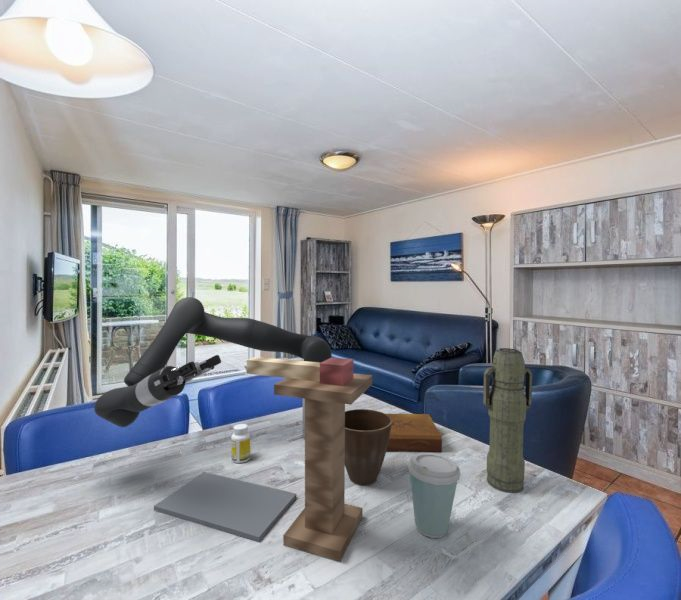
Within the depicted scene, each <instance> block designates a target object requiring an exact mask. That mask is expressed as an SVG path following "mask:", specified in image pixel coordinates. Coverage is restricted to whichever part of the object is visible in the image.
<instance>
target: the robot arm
mask: <svg viewBox="0 0 681 600" xmlns="http://www.w3.org/2000/svg"><path fill="white" fill-rule="evenodd" d="M186 334H190V335H197V336H202V337H203V336H204V337H209V338H214V339H218V340H221V341H223V342H227V343H231V344H234V345H239V346H242V347H245V348H247V349H248V348H249V349H252V350H257V351H261V352H262V351H263V352H272V353H273V352H274V353H285V354H289V355H291V356H292V355H293V356H295V357H298V358H301V359H303V361H308V362H319V363H321V362H323V361H325V360H327V359H329V358H333V357H332V356H333V355H332V348H331V346H330V345H329V343H328V342H327V341H326V340H324V339H323V338H322V337H319V336H313V335H307V334H301V333H296V332H292V331H289V330H287V329H283V328H281V327H279V326H277V325H273V324H271V323H267V322H264V321H262V320H257V319H254V318H249V317H224V316H219V315H215V314H211V313H209V312H206V311H205V307H204V305H203V303H202V302H201V301H200V300H199V299H198V298H195V297H192V296H191V297H190V296H186V297H184V298H181V299H179V300H177V302H175V304H174V305H173V308H172V309H171V311H170V313H169V315H168V316H167V318H166V321H165V322H164V324H163V325H162V326H161V329H160V330H159V332H158V334H157V335H156V336H155V338H154V339H153V341H152V342H151V343H150V344H149V345H148V346H147V348H146V349H145V351H144V352H143V354H142V355H141V356H140V357H139V358H138V360H137V361H136V362H135V363H134V365H133V366H132V368H131V369H130V370H129V371H128V373H127V374H126V375H125V376H124V378H123V382H124V384H125V386H123V387H122V386H121V387H116V388H113V389H110V390H108V391H106V392H104V393H102V395H101V396H99V397H98V398H97V400H96V402H94V403H95V404H94V406H93V409H94V413H95V414H96V415H97V416H98V417H100V418H102V420H105V421H108V422H109V423H111V424H113V425H115V426H117V427H120V428H127V427H129V426H131V425H132V424H133V423H134V422H135V421H136V420H137V419H138V417H139V415H140V413H141V412H143V411H145V410H148V409H149V408H152V407H153V406H156V405H159V404H162V403H164V402H166V401H168V400H170V399H172V398H174V397H176V396H178V395H179V394H181V393H182V392H183V391H184V390H185V386H186V383H188V382H192V380H193V379H196V378H198V377H200V376H203V375H204V374H206V373H208V372H210V371H212V370H214V369H215V366H218V365H220V364H221V363H222V359H221V358H220V355H219V354H215V355H214V356H212V357H210V358H207V359H205V360H203V361H201V362H198V361H196V362H195V361H189V362H187V363H185V364H183V365H182V366H177V367H176V366H173V365H167V364H168V362H169V360H170V358H171V356H172V355H173V353H174V351H175V349H176V348H177V346H179V345H178V344H179V343H180V341H181V340H182V339H183V338H184V336H185V335H186ZM301 430H302V437H303V438H304V439H305V399H304V398H302V429H301Z"/></svg>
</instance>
